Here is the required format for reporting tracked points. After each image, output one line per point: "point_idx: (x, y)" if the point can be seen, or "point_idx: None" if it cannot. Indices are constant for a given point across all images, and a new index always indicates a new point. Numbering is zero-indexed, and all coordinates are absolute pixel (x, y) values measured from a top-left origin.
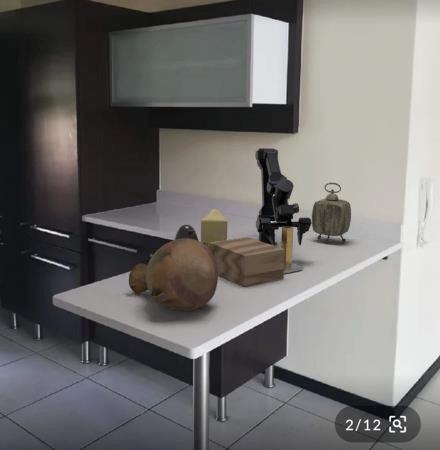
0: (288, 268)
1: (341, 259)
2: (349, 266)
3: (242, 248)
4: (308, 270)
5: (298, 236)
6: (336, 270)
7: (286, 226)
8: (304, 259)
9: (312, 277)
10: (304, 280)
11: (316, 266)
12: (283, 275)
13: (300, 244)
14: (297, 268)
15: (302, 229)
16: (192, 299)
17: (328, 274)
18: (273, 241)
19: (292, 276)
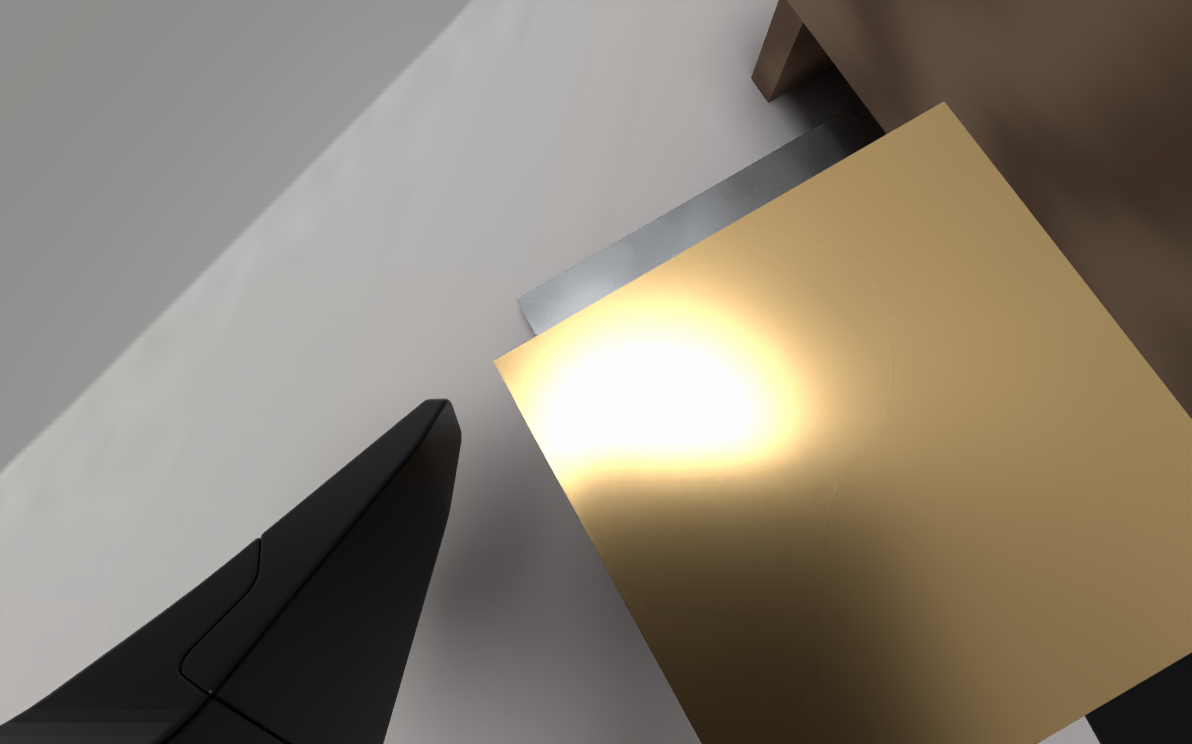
0: (675, 248)
1: (28, 689)
2: (64, 430)
3: None
4: (472, 314)
5: (369, 661)
6: (227, 309)
7: (935, 688)
8: (401, 718)
9: (495, 117)
10: (582, 41)
11: (360, 442)
12: (761, 53)
13: (442, 400)
14: (582, 263)
15: (51, 741)
16: None
17: (337, 196)
18: None
19: (659, 142)
